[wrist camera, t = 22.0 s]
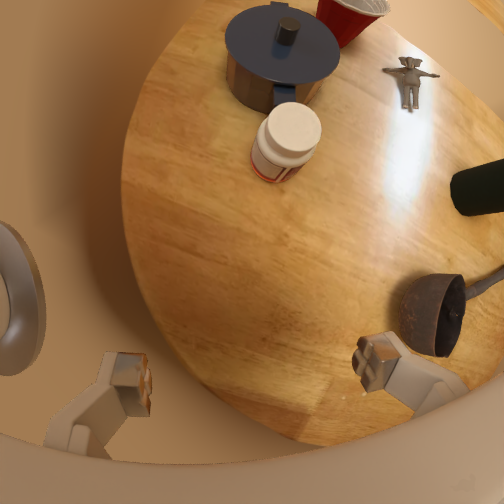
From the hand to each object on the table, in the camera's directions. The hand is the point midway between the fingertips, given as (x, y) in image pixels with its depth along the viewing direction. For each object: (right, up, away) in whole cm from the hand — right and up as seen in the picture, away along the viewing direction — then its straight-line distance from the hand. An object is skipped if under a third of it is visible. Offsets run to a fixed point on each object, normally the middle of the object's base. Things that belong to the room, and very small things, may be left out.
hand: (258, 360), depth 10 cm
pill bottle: (+2, +16, +26) cm, 30 cm away
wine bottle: (+37, +14, +29) cm, 49 cm away
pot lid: (+3, +28, +17) cm, 33 cm away
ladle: (+37, -2, +29) cm, 47 cm away
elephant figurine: (+25, +31, +28) cm, 49 cm away
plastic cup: (+13, +39, +26) cm, 49 cm away
